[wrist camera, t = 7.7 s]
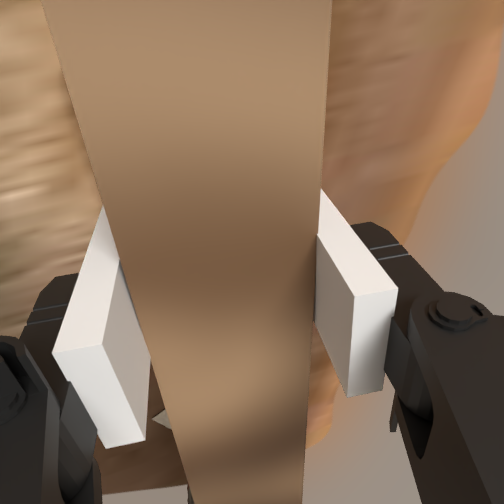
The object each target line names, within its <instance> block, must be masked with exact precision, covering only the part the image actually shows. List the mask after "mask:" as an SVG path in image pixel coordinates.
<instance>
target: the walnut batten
mask: <svg viewBox="0 0 504 504" xmlns="http://www.w3.org/2000/svg"><path fill="white" fill-rule="evenodd" d="M41 3H42V6H43V10H44V13H45V16H46V20H47V23H48V26H49V29H50V33H51V36H52V39H53V42H54V46H55V49H56V52H57V56H58V59H59V62H60V65H61V69H62V72H63V75H64V78H65V82H66V85H67V88H68V92H69V95H70V98H71V101H72V105H73V108H74V111H75V114H76V118H77V121H78V124H79V128H80V131H81V134H82V137H83V141H84V144H85V147H86V150H87V154H88V157H89V160H90V163H91V167H92V170H93V173H94V177H95V180H96V183H97V186H98V190H99V193H100V196H101V199H102V203H103V206H104V209H105V213H106V216H107V219H108V222H109V226H110V229H111V232H112V235H113V239H114V242H115V245H116V249H117V252H118V255H119V258H120V262H121V265H122V268H123V271H124V275H125V278H126V281H127V285H128V288H129V291H130V294H131V298H132V301H133V304H134V307H135V311H136V314H137V317H138V320H139V324H140V327H141V330H142V334H143V337H144V340H145V343H146V346H147V348H148V351H149V354H150V357H151V363H152V366H153V370H154V373H155V376H156V379H157V383H158V386H159V389H160V392H161V396H162V399H163V402H164V406H165V409H166V412H167V415H168V419H169V422H170V425H171V428H172V432H173V435H174V438H175V442H176V445H177V448H178V451H179V455H180V458H181V461H182V464H183V468H184V471H185V474H186V477H187V481H188V484H189V487H190V491H191V494H192V497H193V500H194V504H302V494H303V477H304V460H305V444H306V428H307V411H308V394H309V378H310V361H311V344H312V328H313V311H314V294H315V278H316V251H317V234H318V228H319V211H320V194H321V178H322V161H323V144H324V128H325V111H326V94H327V78H328V61H329V44H330V28H331V11H332V0H41Z"/></svg>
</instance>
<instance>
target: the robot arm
mask: <svg viewBox="0 0 504 504" xmlns="http://www.w3.org/2000/svg"><path fill="white" fill-rule="evenodd" d="M313 320H314V323H315V325H316V327H317V330H318V332H319V334H320V337H321V339H322V341H323V344H324V346H325V348H326V350H327V353H328V355H329V357H330V360H331V362H332V364H333V367H334V369H335V371H336V373H337V376H338V378H339V380H340V383H341V385H342V387H343V390H344V391H345V394H346V397H347V398H348V397H353V396H358V395H363V394H368V393H371V392H377V391H382V389H383V383H384V377H385V373H386V374H387V376H388V378H389V380H390V382H391V383H392V385H393V387H394V389H395V395H394V400H393V405H392V411H391V417H390V432H396V428H397V423H398V424H399V427H400V431H401V434H402V437H403V441H404V444H405V448H406V451H407V454H408V458H409V461H410V465H411V468H412V471H413V475H414V478H415V482H416V485H417V489H418V492H419V495H420V499H421V502H422V504H504V316H498V315H493V314H492V313H491V312H490V311H489V310H488V309H487V308H486V307H485V306H484V305H483V304H481V303H479V302H477V301H476V300H474V299H472V298H470V297H468V296H464V295H461V294H458V293H454V292H444V291H443V290H442V288H441V287H440V286H439V285H438V284H437V283H436V282H435V281H434V280H433V279H432V278H431V277H430V275H429V274H428V273H427V272H426V271H425V270H424V269H423V268H422V267H421V266H420V265H419V264H418V262H417V261H416V260H415V259H414V258H413V257H412V256H411V255H408V252H407V251H406V249H405V248H404V247H403V246H402V245H399V242H398V241H397V240H396V239H395V238H394V236H393V235H392V234H391V233H390V232H389V231H388V230H386V229H384V228H382V227H380V226H378V225H376V224H374V223H372V222H366V223H360V224H354V225H349V224H348V223H347V222H346V220H345V219H344V218H343V216H342V215H341V214H340V213H339V211H338V210H337V209H336V207H335V206H334V205H333V203H332V202H331V201H330V200H329V198H328V197H327V196H326V194H325V193H324V192H323V191H322V189H321V194H320V211H319V228H318V234H317V251H316V278H315V294H314V311H313ZM150 360H151V357H150V354H149V351H148V348H147V346H146V343H145V340H144V337H143V334H142V330H141V327H140V324H139V320H138V317H137V314H136V311H135V307H134V304H133V301H132V298H131V294H130V291H129V288H128V285H127V281H126V278H125V275H124V271H123V268H122V265H121V262H120V258H119V255H118V252H117V249H116V245H115V242H114V239H113V235H112V232H111V229H110V226H109V222H108V219H107V216H106V213H105V209H104V206H102V209H101V212H100V215H99V218H98V221H97V224H96V226H95V229H94V232H93V235H92V238H91V241H90V244H89V247H88V250H87V253H86V256H85V258H84V261H83V264H82V267H81V270H80V273H76V274H70V275H64V276H58V277H55V278H54V279H53V280H52V281H51V282H50V283H49V284H48V285H47V286H46V287H45V288H44V289H43V290H42V291H41V292H40V294H39V296H38V299H37V301H36V303H35V305H34V307H33V312H31V314H30V316H29V318H28V321H27V326H25V327H24V329H23V332H22V334H21V336H20V338H19V339H17V338H16V337H10V336H2V335H1V336H0V504H102V489H101V473H100V470H99V467H98V464H97V462H96V460H95V458H94V457H93V454H94V448H95V442H96V437H97V434H98V436H99V438H100V439H101V441H102V443H103V445H104V446H105V448H106V449H107V448H112V447H117V446H121V445H126V444H131V443H136V442H140V441H145V437H146V422H147V406H148V391H149V375H150Z"/></svg>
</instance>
